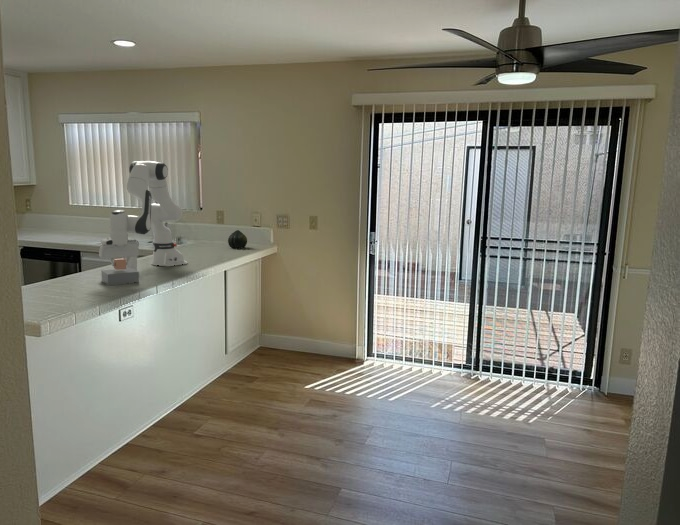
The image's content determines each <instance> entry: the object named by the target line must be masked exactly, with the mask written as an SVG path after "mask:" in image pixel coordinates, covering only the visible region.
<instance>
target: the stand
mask: <svg viewBox="0 0 680 525" xmlns="http://www.w3.org/2000/svg"><path fill="white" fill-rule="evenodd" d="M100 271H101V281H103V283H104V284H105V283H106V284H105V285H106V286H108V285H109V286H116V285H118V284H119V285H126V284H125V283H129V284H135V283H134V282H140V278H139V277H140V272H139V271H138V270H137V271H136V270H135V269H133V268H126V269H119V270H116V269H115V268H111V269H102V270H100ZM119 285H118V286H119Z"/></svg>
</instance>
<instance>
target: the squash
mask: <svg viewBox="0 0 680 525" xmlns="http://www.w3.org/2000/svg"><path fill="white" fill-rule="evenodd" d="M227 239H228V240H227V244H228V246H229V247H230V248H231V249H236V248H237V249H239V250H241V249H244V248H245V247H246V246H247V244H248V238H247V236H246V235H245V234H244V233H243V232H242V231H241V230H239V229H237V230H235V231H234V232H232V233H231V234H230V235H229V236H228V238H227ZM240 248H241V249H240Z"/></svg>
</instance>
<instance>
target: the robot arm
mask: <svg viewBox="0 0 680 525" xmlns="http://www.w3.org/2000/svg"><path fill="white" fill-rule="evenodd" d="M128 172H129V176H128V178H127V182H126V190H127V192H128V194H130V195H131V196H132V197H133V198H136V199H137V200H140V201H141V211H140V212H141V214H140V215H130V214H127V212H126V210H124V209H115V210H113V211H111V212H110V215H109V229H110V234H109V237H105V238H103V239H101V240H100V244H101V245H100V246H99V250H98V255H99V256H98V257H99V258H100V259H104V260H106V259H109V262H110V263H111V266H112V267H114V266H116V265H115V264H116V263H115V262H114V259H119V258H121V257H122V258H125V257H126V258H127V260H126V265H128V261H129V260H130V257H136V256H137V257H139V256H140V248H139V246H140V242H139V241H138V240H137V239H129V234H128V233H130V234H139V235H147V234H148V233H149V232H150V231H151V229H152V234H153V238H152V239H153V242H152V251H153V253H152V260H151V265H153V266H157V265H159V267H160V266H162V267H172V266H174V265H175V266H181V265H182V264H183V265H188V261H187V260H185V257H184V254H183V253H182V252H180V251H179V250H178V249H177V248H176V247H177V246H178V244H177V243H175V242H172V234H173V233H172V230H171V229H170V228H169V227H168V226H165V224H164V222H171V223H172V222H177V221H180V220H182V218H183V215H184V214H183V213H184V212H183V209H182V207H181V206H180V205H178V204H177V203H176V202H175V201H174V200H173V199H172V196H170V192H169V189H168V182H167V177H168V174H169V173H168V172H169V169H168V166H167V165H166V163H164V162H161V161H152V160H145V161H144V160H140V161H139V160H134V161H132V162H131V163H130V164H129V168H128ZM152 201H154V202H156V203H152Z"/></svg>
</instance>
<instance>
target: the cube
mask: <svg viewBox="0 0 680 525" xmlns="http://www.w3.org/2000/svg"><path fill="white" fill-rule="evenodd" d="M113 262H115V263H116V264H115V265H116V266H113V269H116V270H119V269H126V260H125V258H124V257H122V258H121V259H119V258H113Z"/></svg>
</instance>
